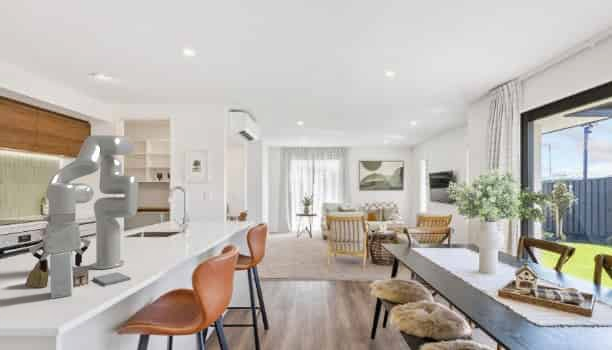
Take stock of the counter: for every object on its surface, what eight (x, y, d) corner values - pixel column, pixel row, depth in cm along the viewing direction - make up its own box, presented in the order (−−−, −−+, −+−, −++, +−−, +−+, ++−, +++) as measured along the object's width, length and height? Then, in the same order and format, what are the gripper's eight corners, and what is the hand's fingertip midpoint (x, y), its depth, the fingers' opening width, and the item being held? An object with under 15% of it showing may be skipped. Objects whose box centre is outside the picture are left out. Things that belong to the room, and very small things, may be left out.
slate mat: (92, 280, 127) (92, 277, 127) (117, 274, 134) (117, 272, 134) (105, 285, 119) (105, 283, 119) (130, 279, 127) (130, 277, 127)
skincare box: (71, 295, 109) (72, 252, 110) (49, 299, 106) (49, 254, 106) (73, 288, 116) (73, 248, 117) (52, 292, 113) (52, 250, 113)
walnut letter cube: (68, 285, 121) (68, 271, 121) (83, 281, 125) (83, 268, 125) (73, 288, 118) (73, 274, 118) (88, 284, 122) (88, 271, 122)
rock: (55, 280, 119) (60, 270, 128) (37, 264, 116) (43, 255, 125) (26, 301, 116) (33, 289, 124) (6, 285, 113) (15, 274, 121)
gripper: (33, 222, 102) (32, 276, 102) (94, 217, 116) (93, 265, 116) (27, 220, 107) (26, 272, 106) (86, 216, 121) (86, 262, 120)
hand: (61, 268), depth 111 cm, fingers open, 9 cm apart
